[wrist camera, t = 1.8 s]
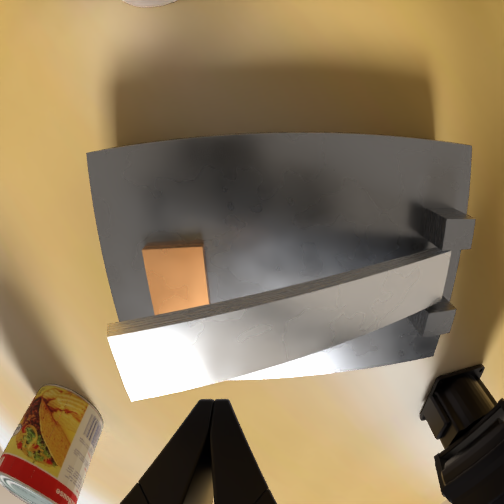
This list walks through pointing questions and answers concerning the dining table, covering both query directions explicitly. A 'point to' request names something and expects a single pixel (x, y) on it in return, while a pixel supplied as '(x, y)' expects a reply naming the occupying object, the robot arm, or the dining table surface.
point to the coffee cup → (148, 2)
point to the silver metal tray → (280, 225)
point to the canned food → (51, 448)
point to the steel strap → (271, 325)
